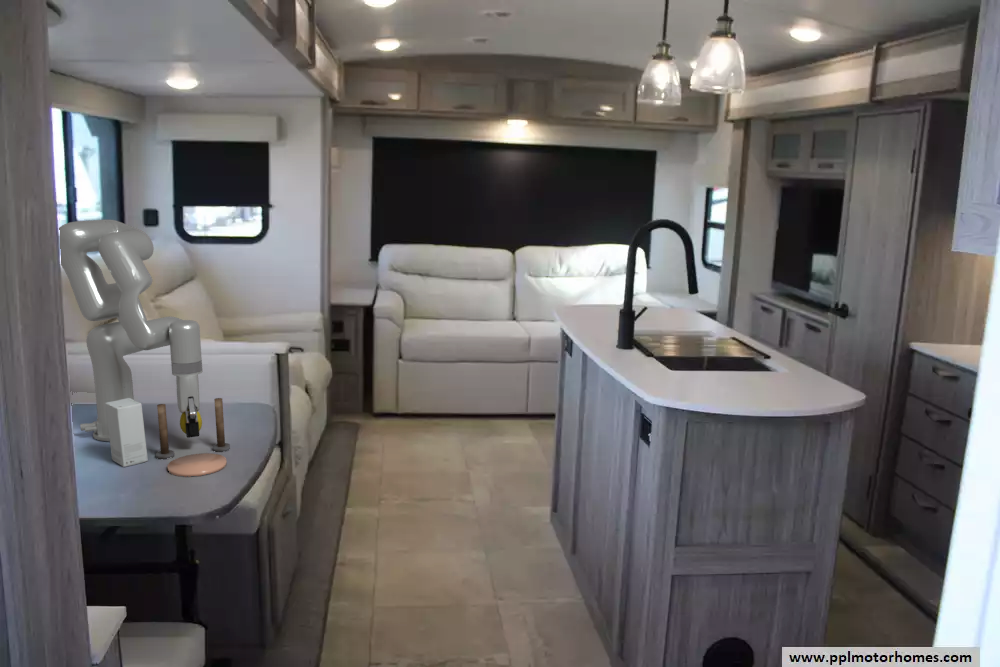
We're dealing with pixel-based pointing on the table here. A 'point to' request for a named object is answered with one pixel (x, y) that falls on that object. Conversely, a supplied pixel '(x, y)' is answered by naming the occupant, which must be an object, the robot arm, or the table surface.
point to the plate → (197, 464)
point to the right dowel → (220, 427)
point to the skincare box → (126, 432)
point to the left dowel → (163, 434)
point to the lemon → (183, 421)
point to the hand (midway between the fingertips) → (191, 432)
